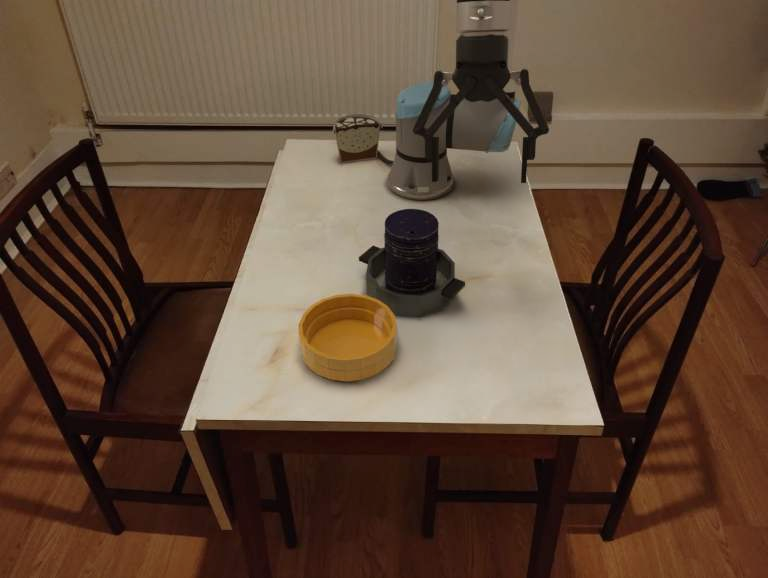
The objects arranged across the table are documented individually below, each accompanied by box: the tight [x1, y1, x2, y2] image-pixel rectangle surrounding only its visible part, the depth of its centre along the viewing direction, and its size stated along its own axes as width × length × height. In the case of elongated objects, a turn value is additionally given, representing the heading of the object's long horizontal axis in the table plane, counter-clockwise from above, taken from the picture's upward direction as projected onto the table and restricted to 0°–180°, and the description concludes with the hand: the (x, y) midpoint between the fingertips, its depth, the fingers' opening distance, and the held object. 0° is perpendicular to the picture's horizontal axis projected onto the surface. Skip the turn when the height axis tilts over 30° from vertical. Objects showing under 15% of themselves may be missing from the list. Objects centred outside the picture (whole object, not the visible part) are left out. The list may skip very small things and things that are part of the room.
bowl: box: [298, 293, 398, 382], centre depth 114 cm, size 16×16×6 cm
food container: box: [332, 113, 383, 164], centre depth 167 cm, size 12×6×10 cm, turn 105°
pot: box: [358, 245, 466, 318], centre depth 126 cm, size 21×16×5 cm
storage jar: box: [383, 208, 440, 294], centre depth 123 cm, size 10×10×15 cm
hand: (478, 181), depth 104 cm, fingers open, 13 cm apart
